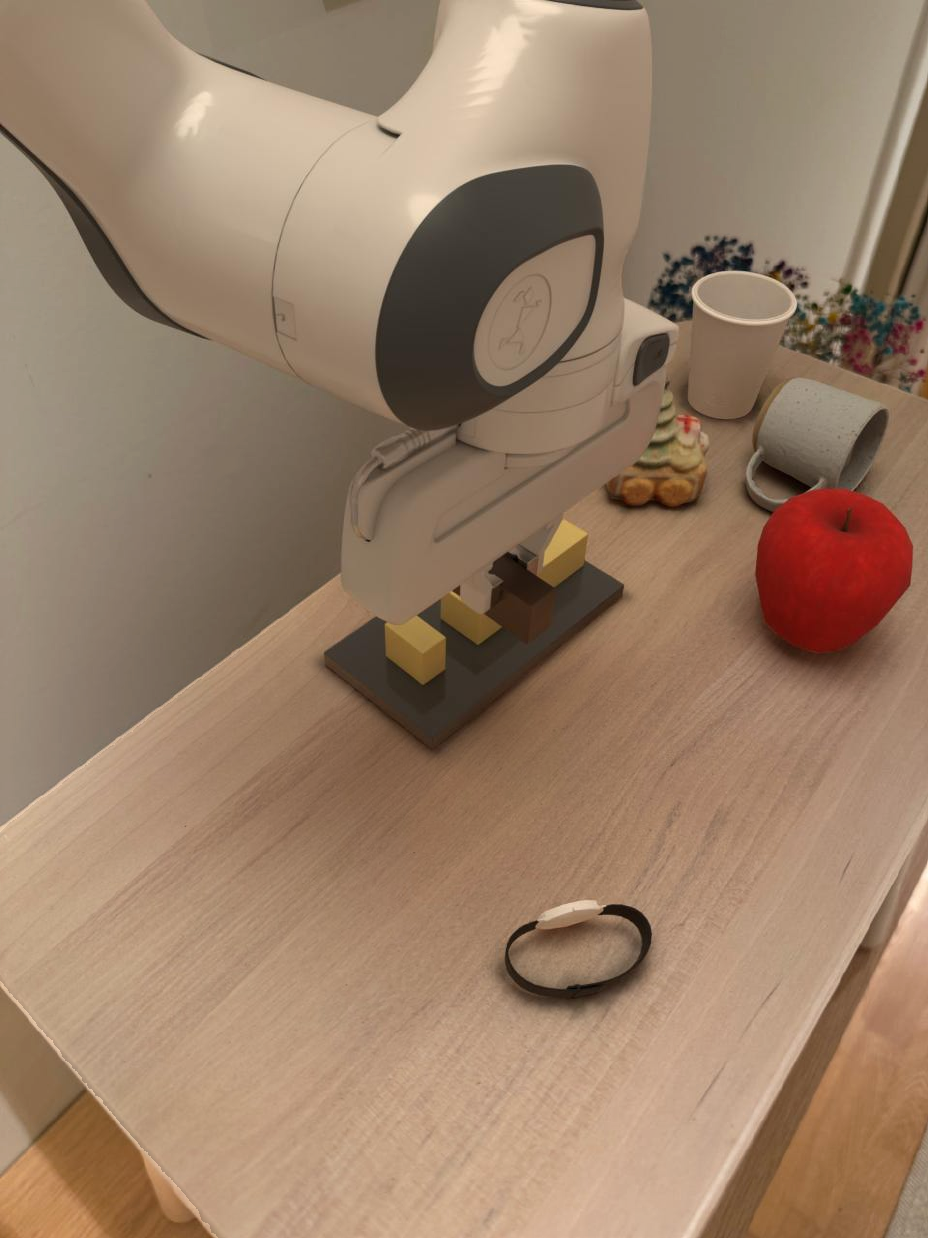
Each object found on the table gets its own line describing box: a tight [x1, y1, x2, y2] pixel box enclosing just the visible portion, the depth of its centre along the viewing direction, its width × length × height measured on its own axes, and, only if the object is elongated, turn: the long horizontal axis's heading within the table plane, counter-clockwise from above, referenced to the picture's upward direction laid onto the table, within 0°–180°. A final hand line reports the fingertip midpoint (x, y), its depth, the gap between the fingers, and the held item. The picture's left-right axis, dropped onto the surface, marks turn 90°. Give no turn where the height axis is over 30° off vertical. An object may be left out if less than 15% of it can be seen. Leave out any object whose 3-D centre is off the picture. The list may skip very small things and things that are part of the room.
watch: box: [504, 899, 653, 999], centre depth 54 cm, size 8×5×4 cm, turn 104°
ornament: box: [605, 376, 711, 508], centre depth 80 cm, size 8×6×10 cm
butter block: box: [441, 518, 589, 645], centre depth 72 cm, size 11×4×3 cm, turn 136°
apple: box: [754, 489, 914, 654], centre depth 69 cm, size 10×10×11 cm
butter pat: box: [385, 616, 446, 685], centre depth 67 cm, size 2×4×3 cm, turn 45°
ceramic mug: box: [745, 376, 890, 513], centre depth 82 cm, size 11×8×8 cm
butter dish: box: [323, 559, 625, 750], centre depth 72 cm, size 19×10×1 cm, turn 136°
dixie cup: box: [687, 270, 798, 420], centre depth 89 cm, size 8×8×10 cm
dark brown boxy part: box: [452, 554, 556, 644], centre depth 60 cm, size 2×12×3 cm, turn 46°
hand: (501, 587), depth 58 cm, fingers closed on dark brown boxy part, 2 cm apart
